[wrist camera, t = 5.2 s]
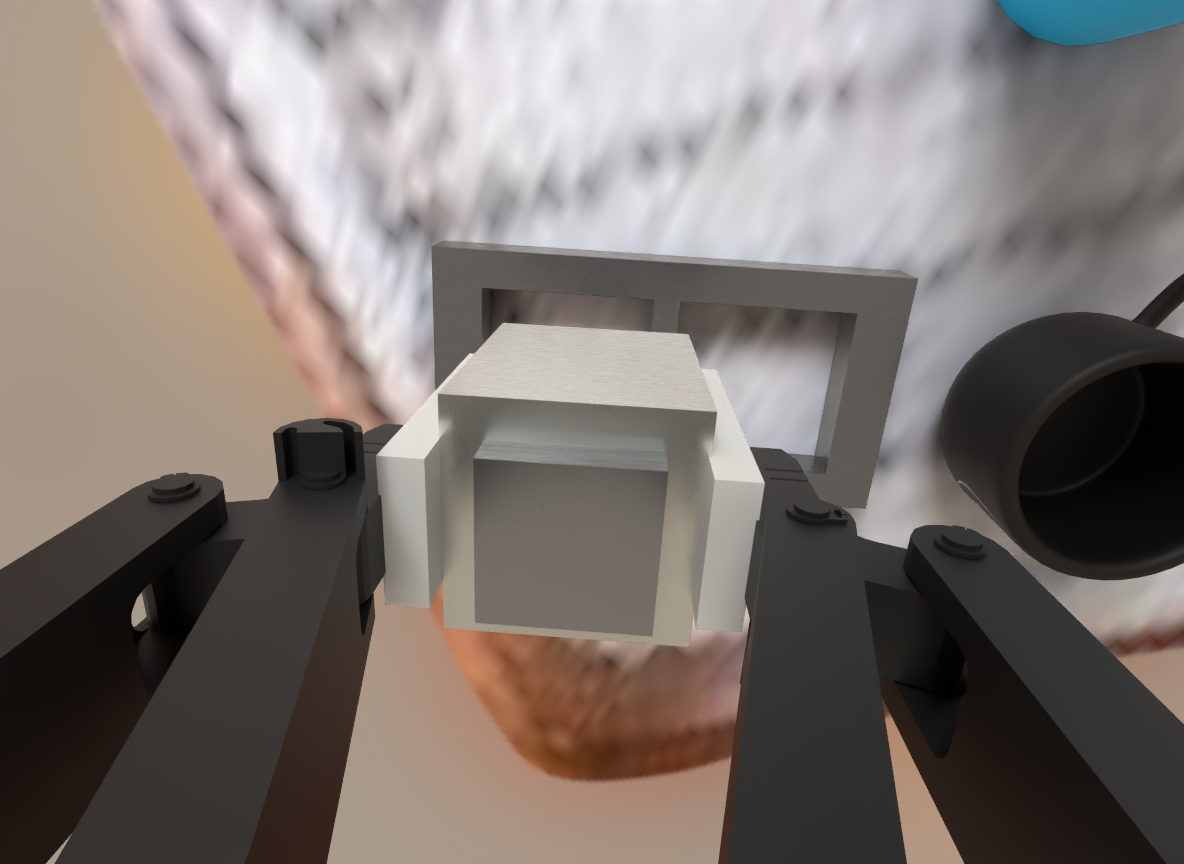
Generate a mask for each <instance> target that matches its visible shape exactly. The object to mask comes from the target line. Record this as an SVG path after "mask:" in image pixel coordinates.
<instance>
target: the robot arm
mask: <svg viewBox="0 0 1184 864" xmlns="http://www.w3.org/2000/svg"><path fill="white" fill-rule="evenodd" d="M473 355H474V354H470V353H469V355H468V356H467V357H466V358H465V359H464V360H463V361H462V362H461V363H460V364H459V365H458V367H457V368H456V369H455V370H454V371H453V372H452V373H451V374H450V375H449V376H448V377H447V379H446V380H445V381H444V382H443V383H442V384H441V385H440V386H439V387H438V388H437V390H436V391H435V392H434V393H433V394H432V395H431V396H430V397H429V398H428V399H427V400H426V402H425V403H424V404H423V405H422V406H421V407H420V408H419V409H418V410H417V411H416V412H415V414H414V415H413V416H412V417H411V418H410V419H409V420H408V421H407V422H406V423H405V424H404V425H395V424H383V425H381V426H379V427H376V428H374V429H372V430H369V431H367V432H365V433H364V434H362V428H361V426H360V425H358V424H357V423H355V422H353V421H348V420H344V419H333V418H320V419H308V420H303V421H297V422H293V423H290V424H288V425H285V426H282V427H280V428H279V429H277V430H276V431H275V432H274V433H273V437H274V446H275V453H276V463H277V470H278V480H279V482H278V484H277V485H276V487H275V489H274V490H273V492H272V494H271V496H270V497H269V499H262V500H251V501H238V502H225V495H224V489H223V483H222V481H221V480H219V479H217V478H216V477H213V476H208V475H202V474H188V473H176V475H174V474H170V475H164V476H162V477H161V478H159V479H156V480H152V481H149V482H146V483H144V484H141V485H139V486H137V487H135V488H133V489H131V490H129V491H128V492H126V493H125V494H123V495H121V496H120V497H118V498H117V499H115V500H113V501H111V502H110V503H108V504H107V505H105V506H104V507H102V508H100V509H99V510H97V511H95V512H94V513H92V514H90V515H89V516H87V517H86V518H84V519H82V520H81V521H79V522H77V523H76V524H74V525H73V526H71V527H69V528H67V529H66V530H64V531H63V532H61V533H59V534H58V535H56V536H54V537H53V538H51V539H50V540H48V541H46V542H45V543H43V544H41V545H40V546H38V547H37V548H35V549H33V550H32V551H30V552H28V553H27V554H25V555H24V556H22V557H20V558H19V559H17V560H15V561H14V562H12V563H10V564H9V565H7V566H6V567H4V568H2V569H1V570H0V864H46V863H47V861H48V860H49V859H50V858H51V857H52V856H53V855H54V853H55V852H56V851H57V850H58V849H59V848H60V846H61V845H62V844H63V843H64V842H65V840H67V838H68V837H69V836H70V835H71V834H72V835H71V837H70V838H69V840H68V842H67V843H66V845H65V847H64V849H63V850H62V852H61V854H60V855H59V857H58V859H57V861H56V862H55V864H327V858H328V853H329V848H330V843H331V838H332V833H333V828H334V823H335V818H336V813H337V807H338V803H339V797H340V793H341V787H342V782H343V777H344V772H345V767H346V762H347V757H348V752H349V747H350V742H351V737H352V731H353V726H354V721H355V716H356V711H357V706H358V701H359V696H360V691H361V686H362V680H363V676H364V670H365V665H366V660H367V655H368V650H369V645H370V640H371V635H372V630H373V625H374V620H375V609H374V594H373V592H374V590H375V589H376V587H377V586H378V584H379V582H380V581H381V579H382V578H383V577H384V593H385V605H397V606H410V607H423V608H430V606H431V604H432V602H433V600H434V598H435V595H436V593H437V591H438V589H439V587H440V585H441V583H442V580H443V567H442V526H441V485H440V444H439V427H438V393H439V392H440V390H441V389H442V388H443V387H444V386H445V385H446V384H447V383H448V382H449V381H450V380H451V379H452V377H453V376H454V375H455V374H456V373H457V372H458V371H459V370H460V369H461V368H462V367H463V366H464V365H465V363H466V362H467V361H468V360H469V359H470V358H471V357H472V356H473ZM702 372H703V375H704V377H705V380H706V383H707V385H708V388H709V391H710V393H711V396H712V399H713V401H714V404H715V407H716V410H717V419H716V428H715V436H714V444H713V453H712V457H709V461H708V469H707V477H706V486H705V494H704V502H703V511H702V519H701V527H700V536H699V544H698V552H697V561H696V569H695V577H694V586H693V594H692V603H693V610H694V617H695V625H696V629H706V630H718V631H731V632H742V628H743V621H744V615H745V608H746V605H747V609H748V613H749V617H750V623H749V629H748V635H747V642H746V648H745V654H744V661H743V667H742V673H741V680H740V684H741V688H740V696H739V704H738V712H737V720H736V728H735V735H734V743H733V751H732V759H731V767H730V775H729V783H728V791H727V799H726V807H725V815H724V823H723V831H722V838H721V847H720V854H719V862H718V864H907V861H906V855H905V849H904V842H903V835H902V829H901V822H900V815H899V808H898V802H897V796H896V789H895V782H894V775H893V769H892V762H891V755H890V749H889V743H888V736H887V729H886V722H885V716H884V709H883V702H882V698H883V700H884V702H885V704H886V706H887V708H888V710H889V712H890V714H891V716H892V718H893V720H894V722H895V724H896V726H897V728H898V730H899V732H900V734H901V736H902V738H903V740H904V742H905V744H906V746H907V748H908V750H909V752H910V754H911V756H912V759H913V760H914V763H915V765H916V767H917V769H918V770H919V773H920V775H921V777H922V779H923V781H924V783H925V785H926V786H927V789H928V791H929V793H930V795H931V797H932V799H933V801H934V803H935V805H936V807H937V809H938V811H939V813H940V815H941V817H942V819H943V821H944V823H945V825H946V827H947V829H948V831H949V833H950V835H951V837H952V839H953V841H954V843H955V845H956V847H957V849H958V851H959V853H960V855H961V857H962V860H963V861H964V864H1184V724H1183V723H1182V722H1181V721H1180V720H1179V719H1178V718H1177V717H1176V716H1175V715H1174V714H1173V713H1172V712H1171V711H1170V710H1169V709H1168V708H1167V707H1166V706H1165V705H1163V703H1161V702H1160V700H1159V699H1157V698H1156V697H1155V696H1154V695H1153V694H1152V693H1151V692H1150V691H1149V690H1148V689H1147V688H1146V687H1145V686H1144V685H1143V684H1142V683H1141V682H1140V681H1139V680H1138V679H1137V678H1136V677H1135V676H1134V675H1133V674H1132V673H1131V672H1130V671H1129V670H1128V669H1127V668H1126V667H1125V666H1124V665H1123V664H1122V663H1121V662H1120V661H1119V660H1118V659H1117V658H1116V657H1115V656H1114V655H1113V654H1112V653H1111V652H1110V651H1109V650H1108V649H1107V648H1106V647H1104V646H1103V645H1102V644H1101V643H1100V642H1099V641H1098V640H1097V639H1096V638H1095V637H1094V636H1093V635H1092V634H1091V633H1090V632H1089V631H1088V630H1087V629H1086V628H1085V627H1084V626H1083V625H1082V624H1081V623H1080V622H1079V621H1078V620H1077V619H1076V618H1075V617H1074V616H1073V615H1072V614H1071V613H1070V612H1069V611H1068V610H1067V609H1066V608H1065V607H1064V606H1063V605H1062V604H1061V603H1060V602H1059V601H1058V600H1057V599H1056V598H1055V597H1054V596H1053V595H1051V594H1050V593H1049V592H1048V591H1047V590H1046V589H1045V588H1044V587H1043V586H1042V585H1041V584H1040V583H1039V582H1038V581H1037V580H1036V579H1035V578H1034V577H1033V576H1032V575H1031V574H1030V573H1029V572H1028V571H1027V570H1026V569H1025V568H1024V567H1023V566H1022V565H1021V564H1020V563H1019V562H1018V561H1017V560H1016V559H1015V558H1014V557H1013V556H1012V555H1011V554H1010V553H1009V552H1008V551H1007V550H1006V549H1004V548H1003V547H1001V546H1000V545H999V544H997V543H996V542H995V541H993V540H991V539H989V538H986V537H984V536H982V535H980V534H979V533H978V532H976V531H974V530H971V529H968V528H967V530H965V528H964V527H960V526H944V525H925V526H922V527H919V528H916V529H914V531H913V533H912V534H911V537H910V541H909V545H908V549H904V548H900V547H895V546H891V545H887V544H882V543H878V542H874V541H871V540H867V539H864V538H862V537H859V536H857V530H856V524H855V521H854V519H853V518H852V516H851V515H850V514H849V513H848V512H846V511H845V510H844V509H842V508H841V507H838V506H836V505H834V504H831V503H829V502H826V501H822V500H820V499H819V497H818V496H817V494H816V492H815V490H814V489H813V487H812V485H811V483H809V480H808V478H807V476H806V475H805V473H803V469H802V468H801V466H800V464H799V463H798V461H797V459H795V458H793V457H792V456H790V455H789V454H787V453H786V452H784V451H783V450H781V449H771V448H756V447H749V445H748V443H747V440H746V438H745V436H744V433H743V431H742V429H741V426H740V424H739V422H738V419H737V417H736V414H735V412H734V410H733V407H732V405H731V403H730V400H729V398H728V396H727V393H726V391H725V389H724V386H723V384H722V382H721V379H720V377H719V375H718V372H717V370H716V369H702ZM141 592H142V596H143V600H144V605H145V610H146V615H147V617H146V618H145V619H144V620H143V621H141V622H140V623H139V624H138V625H137V626H135V627H133V625H132V624H131V613H132V610H133V607H134V604H135V602H136V599H137V597H138V596H139V595H140V594H141Z"/></svg>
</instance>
